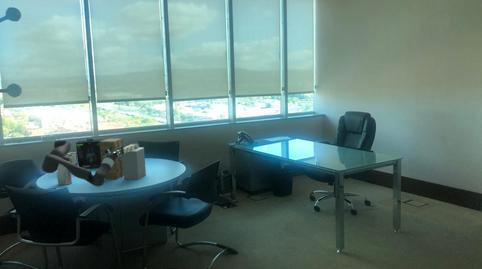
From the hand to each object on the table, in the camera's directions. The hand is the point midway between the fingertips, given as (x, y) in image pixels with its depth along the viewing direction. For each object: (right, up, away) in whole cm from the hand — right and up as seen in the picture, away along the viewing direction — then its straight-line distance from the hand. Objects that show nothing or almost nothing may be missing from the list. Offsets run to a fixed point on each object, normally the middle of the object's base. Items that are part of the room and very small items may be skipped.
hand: (117, 146), depth 278 cm
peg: (+4, -3, +16) cm, 17 cm away
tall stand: (-12, -25, +28) cm, 40 cm away
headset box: (-44, -21, +68) cm, 84 cm away
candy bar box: (-57, -23, +52) cm, 81 cm away
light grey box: (+6, -25, +25) cm, 36 cm away
